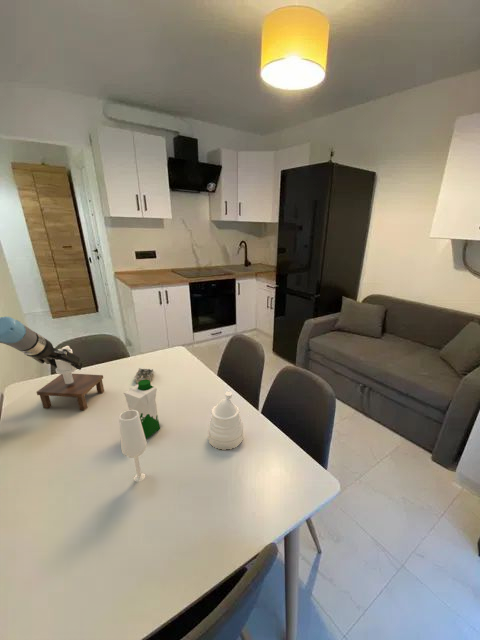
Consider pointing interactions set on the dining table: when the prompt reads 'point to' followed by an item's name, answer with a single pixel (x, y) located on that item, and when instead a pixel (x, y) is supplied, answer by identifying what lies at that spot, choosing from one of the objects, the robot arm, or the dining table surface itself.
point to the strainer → (65, 367)
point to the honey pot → (225, 425)
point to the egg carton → (143, 375)
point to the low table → (71, 388)
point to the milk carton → (144, 405)
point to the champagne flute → (132, 438)
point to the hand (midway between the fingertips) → (71, 366)
